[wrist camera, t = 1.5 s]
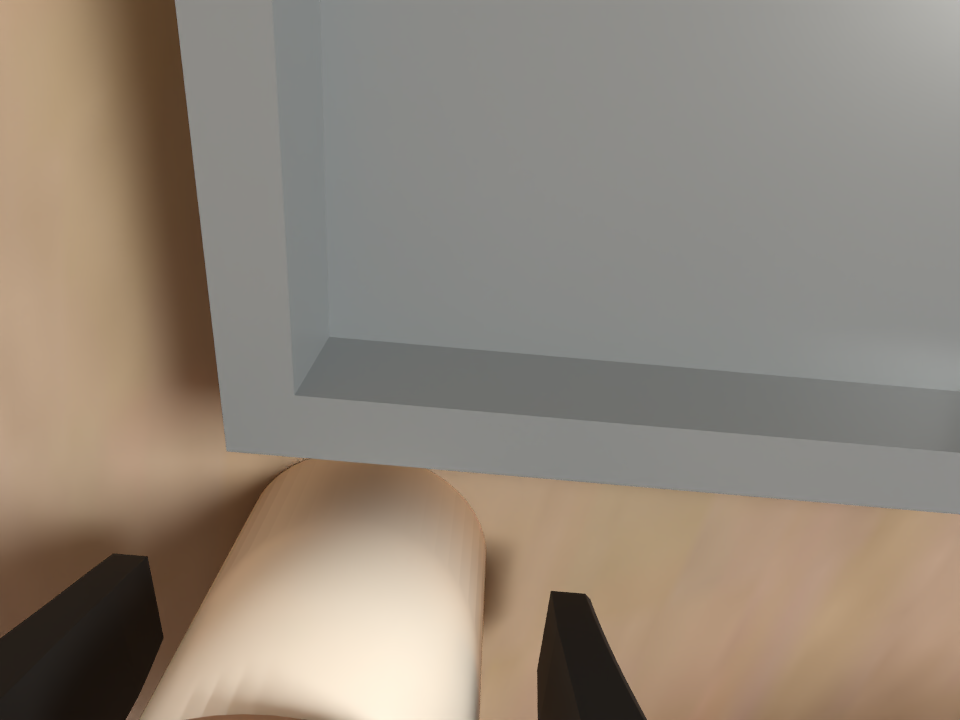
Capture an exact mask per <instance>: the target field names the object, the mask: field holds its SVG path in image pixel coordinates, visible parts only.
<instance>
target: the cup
mask: <svg viewBox="0 0 960 720" xmlns="http://www.w3.org/2000/svg"><path fill="white" fill-rule="evenodd" d="M485 563H486V545H485V539H484V534H483V531H482V528H481V525H480V522H479V520H478V518H477V516H476V514H475V512H474V511H473V509H472V508H471V507H470V505H469V504H468V502H467V501H466V500H465V499H464V498H463V496H462V495H461V494H460V493H459V492H458V491H457V490H456V489H455V488H454V487H452V486H451V485H450V484H449V483H448V482H446V481H445V480H444V479H442V478H441V477H439V476H438V475H436V474H435V473H433V472H432V471H430V470H428V469H426V468H415V467H404V466H392V465H380V464H369V463H357V462H346V461H334V460H322V459H311V458H310V459H307V460H304V461H302V462H300V463H298V464H296V465H294V466H292V467H290V468H288V469H287V470H285V471H284V472H282V473H281V474H279V475H278V476H277V477H276V478H275V479H274V480H273V481H272V482H271V483H269V485H268V486H267V487H266V488H265V490H264V491H263V492H262V493H261V495H260V497H259V499H258V501H257V502H256V504H255V506H254V508H253V510H252V512H251V513H250V515H249V517H248V519H247V521H246V523H245V525H244V526H243V528H242V530H241V532H240V534H239V536H238V537H237V539H236V541H235V543H234V545H233V547H232V549H231V550H230V552H229V554H228V556H227V558H226V560H225V562H224V563H223V565H222V567H221V569H220V571H219V573H218V575H217V576H216V578H215V580H214V582H213V584H212V586H211V587H210V589H209V591H208V593H207V595H206V597H205V599H204V600H203V602H202V604H201V606H200V608H199V610H198V612H197V613H196V615H195V617H194V619H193V621H192V623H191V624H190V626H189V628H188V630H187V632H186V634H185V636H184V637H183V639H182V641H181V643H180V645H179V647H178V649H177V650H176V652H175V654H174V656H173V658H172V660H171V662H170V663H169V665H168V667H167V669H166V671H165V673H164V674H163V676H162V678H161V680H160V682H159V684H158V686H157V687H156V689H155V691H154V693H153V695H152V697H151V699H150V700H149V702H148V704H147V706H146V708H145V710H144V711H143V713H142V715H141V717H140V719H139V720H479V714H480V689H481V664H482V639H483V613H484V588H485Z"/></svg>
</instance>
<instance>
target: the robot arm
mask: <svg viewBox="0 0 960 720" xmlns="http://www.w3.org/2000/svg"><path fill="white" fill-rule="evenodd" d="M162 640H163V633H162V628H161V622H160V617H159V612H158V607H157V602H156V597H155V592H154V587H153V582H152V577H151V572H150V567H149V562H148V557H147V556H136V555H124V554H112V555H111V556H109V557H108V558H107V559H105V560H104V561H103V562H101V563H100V564H99V565H97V566H96V567H95V568H93V569H92V570H91V571H89V572H88V573H87V574H85V575H84V576H83V577H81V578H80V579H79V580H77V581H76V582H75V583H74V584H72V585H71V586H70V587H68V588H67V589H66V590H64V591H63V592H62V593H60V594H59V595H58V596H57V597H55V598H54V599H53V600H51V601H50V602H49V603H47V604H46V605H45V606H43V607H42V608H41V609H39V610H38V611H37V612H35V613H34V614H33V615H31V616H30V617H29V618H27V619H26V620H25V621H23V622H22V623H21V624H19V625H18V626H17V627H15V628H14V629H13V630H11V631H10V632H8V633H7V634H6V635H4V636H3V637H2V638H0V720H125V719H126V718H127V716H128V714H129V712H130V711H131V709H132V707H133V705H134V703H135V702H136V700H137V698H138V696H139V694H140V692H141V689H142V687H143V685H144V683H145V680H146V678H147V676H148V674H149V671H150V669H151V667H152V664H153V662H154V660H155V657H156V655H157V652H158V650H159V647H160V645H161V643H162ZM537 686H538V720H647V719H646V717H645V715H644V713H643V712H642V710H641V708H640V706H639V704H638V702H637V700H636V698H635V696H634V694H633V693H632V691H631V689H630V687H629V685H628V683H627V681H626V679H625V677H624V675H623V673H622V671H621V669H620V667H619V665H618V663H617V661H616V659H615V657H614V655H613V652H612V650H611V648H610V646H609V644H608V642H607V639H606V637H605V635H604V633H603V630H602V628H601V626H600V623H599V621H598V618H597V616H596V613H595V611H594V608H593V606H592V603H591V600H590V599H589V598H588V596H587V595H586V594H580V593H569V592H557V591H551V594H550V600H549V605H548V611H547V617H546V623H545V628H544V634H543V640H542V646H541V652H540V657H539V663H538V669H537Z"/></svg>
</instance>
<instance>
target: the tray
mask: <svg viewBox="0 0 960 720" xmlns="http://www.w3.org/2000/svg"><path fill="white" fill-rule="evenodd" d="M175 7H176V15H177V24H178V33H179V41H180V50H181V59H182V67H183V76H184V85H185V93H186V102H187V111H188V120H189V128H190V137H191V146H192V154H193V163H194V172H195V180H196V189H197V198H198V206H199V215H200V224H201V232H202V241H203V250H204V259H205V267H206V276H207V285H208V293H209V302H210V311H211V319H212V328H213V337H214V345H215V354H216V363H217V371H218V380H219V389H220V398H221V406H222V415H223V424H224V432H225V441H226V450H227V451H229V452H241V453H252V454H264V455H276V456H287V457H299V458H311V459H322V460H334V461H346V462H357V463H369V464H380V465H392V466H404V467H415V468H427V469H439V470H450V471H462V472H474V473H485V474H497V475H508V476H520V477H532V478H543V479H555V480H567V481H578V482H590V483H602V484H613V485H625V486H636V487H648V488H660V489H671V490H683V491H695V492H706V493H718V494H730V495H741V496H753V497H764V498H776V499H788V500H799V501H811V502H823V503H834V504H846V505H858V506H869V507H881V508H892V509H904V510H916V511H927V512H939V513H951V514H960V0H175Z"/></svg>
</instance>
